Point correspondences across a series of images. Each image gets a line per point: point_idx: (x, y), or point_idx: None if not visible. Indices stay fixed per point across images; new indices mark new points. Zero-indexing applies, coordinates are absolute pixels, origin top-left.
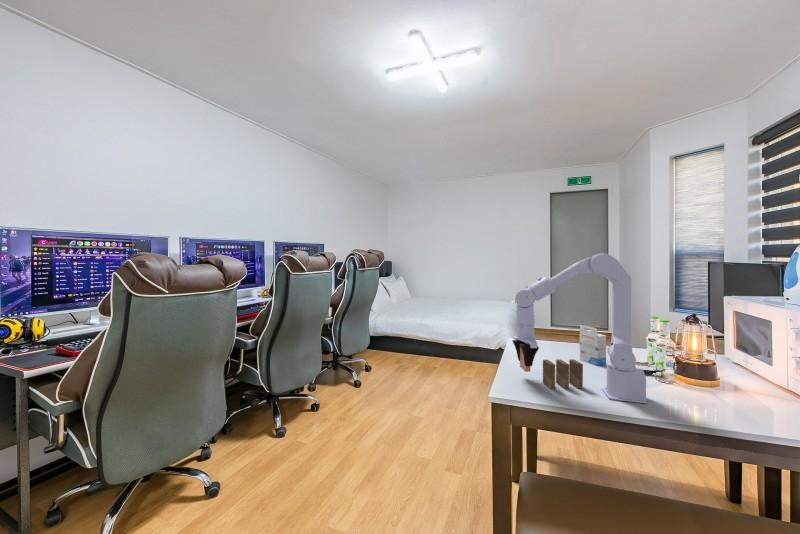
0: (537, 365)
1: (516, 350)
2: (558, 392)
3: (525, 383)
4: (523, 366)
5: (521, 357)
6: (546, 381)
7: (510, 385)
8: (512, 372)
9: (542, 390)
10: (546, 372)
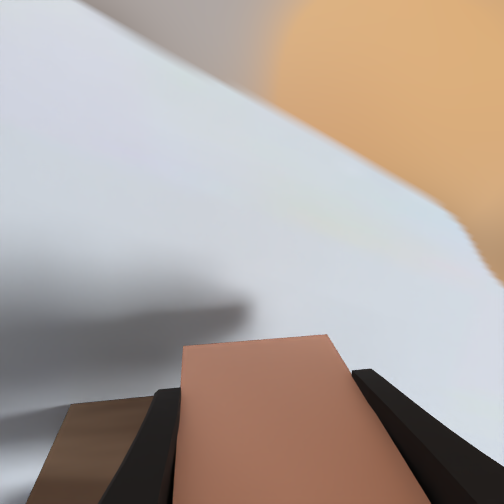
0: (469, 441)
1: (482, 462)
2: (19, 432)
3: (166, 285)
4: (243, 364)
5: (328, 429)
6: (115, 426)
7: (108, 146)
8: (395, 264)
9: (35, 355)
10: (98, 497)
